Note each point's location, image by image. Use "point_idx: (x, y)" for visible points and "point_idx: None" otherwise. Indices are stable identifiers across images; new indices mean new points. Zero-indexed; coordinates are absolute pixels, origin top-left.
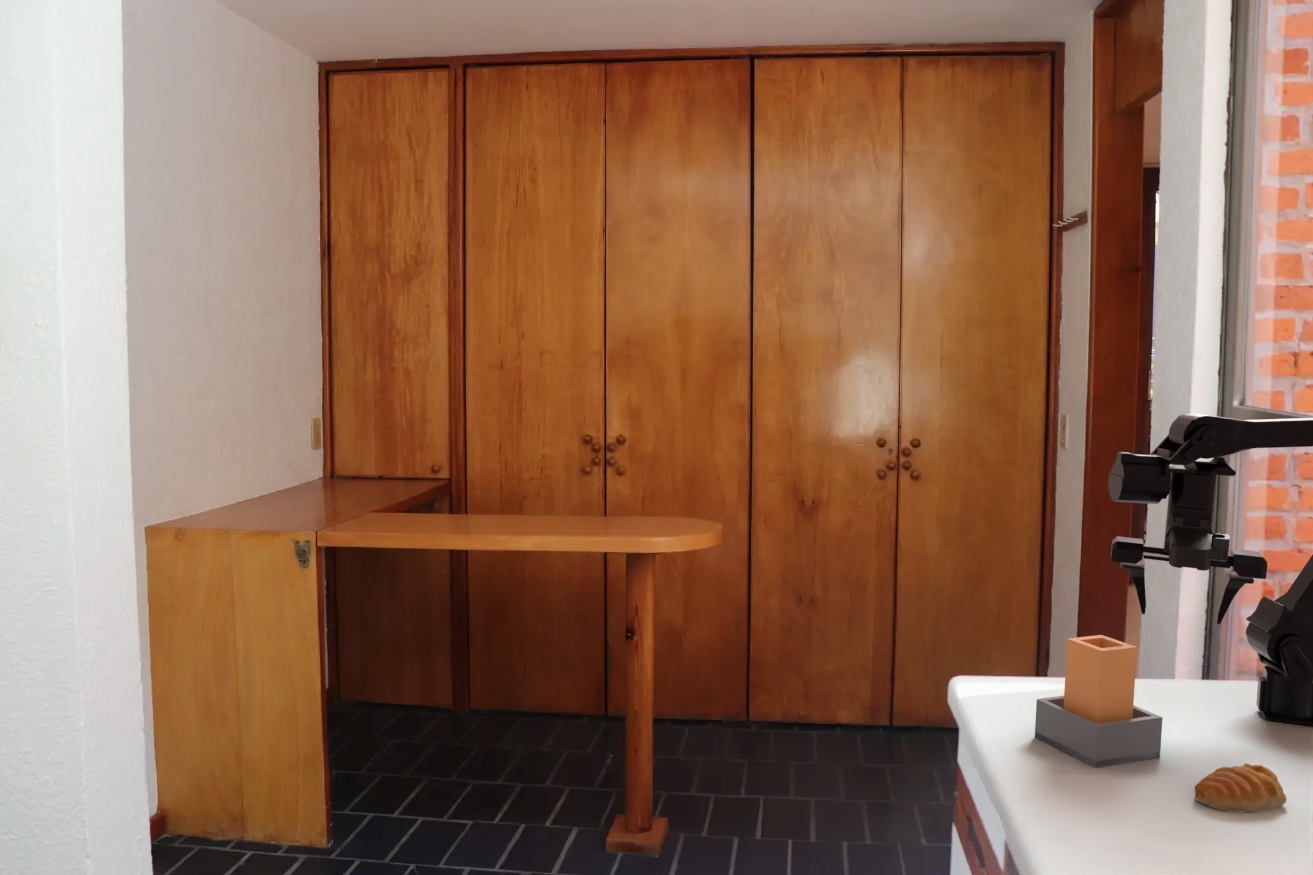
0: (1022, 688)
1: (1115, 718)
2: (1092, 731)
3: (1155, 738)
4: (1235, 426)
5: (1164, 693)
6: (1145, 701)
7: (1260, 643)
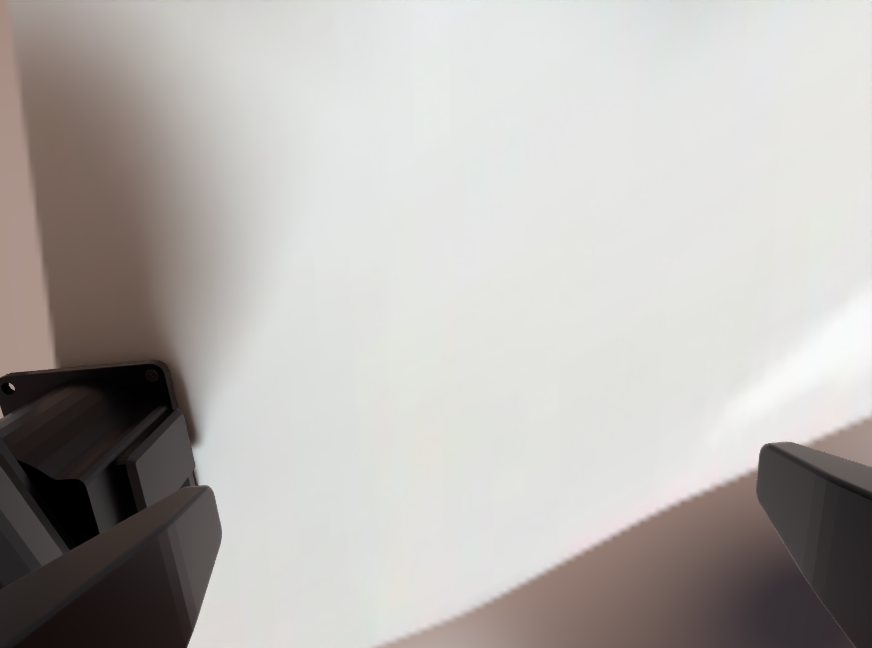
0: None
1: None
2: None
3: None
4: None
5: (477, 469)
6: (534, 350)
7: (15, 537)
